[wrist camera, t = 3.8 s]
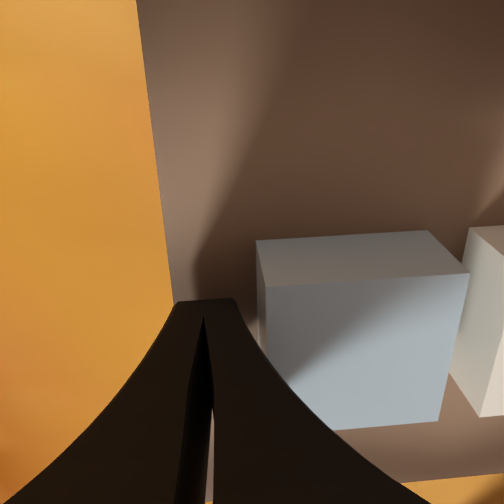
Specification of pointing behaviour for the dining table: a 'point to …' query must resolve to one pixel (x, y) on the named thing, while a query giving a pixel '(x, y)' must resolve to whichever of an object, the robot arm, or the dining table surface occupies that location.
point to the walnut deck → (329, 157)
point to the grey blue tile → (361, 323)
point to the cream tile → (482, 323)
